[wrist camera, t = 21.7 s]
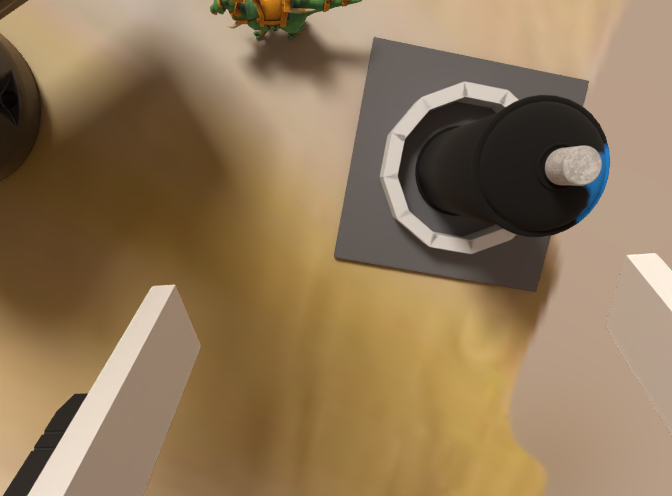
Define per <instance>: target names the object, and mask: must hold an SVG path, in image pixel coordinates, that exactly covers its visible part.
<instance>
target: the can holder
mask: <svg viewBox="0 0 672 496" xmlns="http://www.w3.org/2000/svg"><path fill="white" fill-rule="evenodd" d="M588 83H589V81H586V80H582V79H577V78H572V77H567V76H562V75H557V74H552V73H547V72H542V71H538V70H533V69H528V68H523V67H518V66H513V65H508V64H503V63H498V62H493V61H489V60H484V59H479V58H474V57H469V56H464V55H459V54H454V53H449V52H445V51H440V50H435V49H430V48H425V47H420V46H415V45H410V44H405V43H401V42H396V41H391V40H386V39H381V38H376V37H374V39H373V44H372V50H371V55H370V61H369V66H368V72H367V77H366V83H365V88H364V94H363V99H362V105H361V110H360V116H359V121H358V127H357V132H356V138H355V143H354V149H353V154H352V160H351V165H350V171H349V176H348V182H347V187H346V193H345V198H344V204H343V209H342V215H341V220H340V226H339V231H338V237H337V242H336V248H335V253H334V257H336V258H342V259H348V260H354V261H359V262H365V263H371V264H377V265H383V266H389V267H394V268H400V269H406V270H412V271H418V272H424V273H429V274H435V275H441V276H447V277H453V278H459V279H465V280H470V281H476V282H482V283H488V284H494V285H500V286H505V287H511V288H517V289H523V290H529V291H535V292H536V290H537V286H538V282H539V278H540V274H541V270H542V266H543V262H544V258H545V254H546V250H547V246H548V242H549V238H550V236H544V237H525V236H521V235H517V234H513V233H511V232H509V231H507V230H505V229H503V228H501V227H500V226H498V225H496V224H492V223H489V222H485V221H481V220H477V219H473V218H469V217H466V216H451V215H447V214H443V213H441V212H439V211H437V210H435V209H434V208H432V207H431V206H430V205H428V203H427V202H426V201H425V200H424V199H423V197H422V196H421V194H420V192H419V190H418V187H417V184H416V178H415V166H416V162H417V158H418V155H419V153H420V151H421V149H422V147H423V146H424V145H425V143H426V142H427V141H428V140H429V139H430V138H431V137H432V136H433V135H434V134H436V133H438V132H439V131H441V130H443V129H446V128H448V127H453V126H463V125H465V124H468V123H471V122H474V121H476V120H479V119H482V118H485V117H487V116H490V115H493V114H496V113H498V112H500V111H501V110H502V109H503V108H505V107H507V106H508V105H510V104H511V103H513V102H515V101H518V100H521V99H523V98H526V97H530V96H537V95H555V96H559V97H563V98H567V99H570V100H572V101H574V102H576V103H578V104H579V105H581V106H582V107H583V103H584V99H585V95H586V91H587V87H588Z"/></svg>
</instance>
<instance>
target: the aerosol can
mask: <svg viewBox="0 0 672 496" xmlns="http://www.w3.org/2000/svg"><path fill="white" fill-rule="evenodd" d="M609 167H610V157H609V147H608V144H607V140H606V136H605V134H604V132H603V130H602V128H601V126H600V124H599V123H598V122H597V120H596V119H595V118H594V117H593V115H592V114H591V113H590V112H589V111H587V110H586V109H585V108H584V107H582V106H581V105H579V104H578V103H576V102H574V101H572V100H570V99H567V98H563V97H559V96H555V95H537V96H530V97H526V98H523V99H521V100H518V101H515V102H513V103H511V104H510V105H508V106H507V107H505V108H503V109H502V110H501V111H500V112H498V113H496V114H493V115H490V116H487V117H485V118H482V119H479V120H476V121H474V122H471V123H468V124H465V125H463V126H453V127H448V128H446V129H443V130H441V131H439V132H438V133H436V134H434V135H433V136H432V137H431V138H430V139H429V140H428V141H427V142H426V143H425V145H424V146H423V147H422V149H421V151H420V153H419V155H418V158H417V162H416V166H415V178H416V184H417V187H418V190H419V192H420V194H421V196H422V197H423V199H424V200H425V201H426V202H427V203H428V205H430V206H431V207H432V208H434V209H435V210H437V211H439V212H441V213H443V214H447V215H451V216H466V217H469V218H473V219H477V220H481V221H485V222H489V223H492V224H496V225H498V226H500V227H501V228H503V229H505V230H507V231H509V232H511V233H513V234H517V235H521V236H525V237H544V236H550V235H555V234H557V233H560V232H563V231H565V230H567V229H569V228H571V227H572V226H574V225H576V224H577V223H579V222H580V221H581V220H582V219H583V218H584V217H586V216H587V215H588V214H589V213H590V212H591V210H592V209H593V208H594V206H595V205H596V204H597V203H598V201H599V199H600V197H601V195H602V193H603V191H604V189H605V185H606V183H607V179H608V175H609Z"/></svg>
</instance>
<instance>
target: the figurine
mask: <svg viewBox="0 0 672 496" xmlns="http://www.w3.org/2000/svg"><path fill="white" fill-rule="evenodd" d="M360 1H362V0H247V1H246V0H214V3H213V5H212V6H211V7H210V11H211V13H212V14H214V15H217V12H218V13H220V14H223V13H224V12H225V11H226V9H228V11H229V13H230V15H231V17H232V18H233V20H235V21H237V22H236V23H235V24H234V25H232V26H229V28H236V27H238V26H240V25H241V24H248V26H250V27H251V28H253V29H254V30H260V31H259V32H258V31H255V32H254V34H258V35H259V36H257V37H256V39H259V38H260V37H261V36H262V35H265V34H266V32H267V31H270V32H272V31H278V30H279V29H280V28H281V29H283V30H284V31H286V32H288V35H292V36H289V39H291V38H293V37H295V36H296V35H297V34H298V33H302V31H303V29H304V27H303V26H302V24H303V23H304V21H305V20H306V18H307V16H309V15H311V14H313V13H316V12H320V11H323V12H326V11H329V9H331V8H335V7H339V6H342V7H343V6H347V5H348V4H353V3H357V2H360Z"/></svg>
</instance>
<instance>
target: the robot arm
mask: <svg viewBox="0 0 672 496" xmlns="http://www.w3.org/2000/svg"><path fill="white" fill-rule="evenodd" d="M27 1H28V0H0V20H1V19H2V18H4V17H5V16H6V15H8V14H9V13H11V12H12V11H14V10H15V9H17V8H18V7H19V6H21V5H22V4H24V3H25V2H27ZM39 122H40V102H39V95H38V91H37V87H36V84H35V81H34V78H33V76H32V73H31V71H30V69H29V67H28V65H27V64H26V62H25V60H24V59H23V57H22V56H21V54H20V53H19V52H18V50H17V49H16V48H15V47H14V46H13V45H12V44H11V43H10V42H9V41H8V40H7V39H6V38H5V37H4V36H3V35H2V34H0V180H2V179H4V178H5V177H7V176H8V175H10V174H11V173H12V172H14V171H15V170H16V169H17V168H18V167H19V166H20V165H21V164H22V163H23V161H24V160H25V159H26V157H27V156H28V154H29V152H30V151H31V149H32V147H33V145H34V142H35V140H36V136H37V133H38V128H39ZM605 327H606V329H607V331H608V332H609V334H610V336H611V337H612V339H613V341H614V342H615V344H616V346H617V347H618V349H619V350H620V352H621V354H622V355H623V357H624V359H625V360H626V362H627V364H628V365H629V367H630V369H631V370H632V372H633V373H634V375H635V377H636V378H637V380H638V382H639V383H640V385H641V387H642V388H643V390H644V392H645V393H646V395H647V396H648V398H649V400H650V401H651V403H652V405H653V406H654V408H655V410H656V411H657V413H658V415H659V416H660V418H661V420H662V421H663V423H664V424H665V426H666V428H667V429H668V431H669V433H670V434H671V436H672V271H671V270H670V268H669V267H668V266H667V265H666V264H665V263H664V262H663V261H662V260H661V258H660V257H659V256H658V255H657V254H656V253H651V254H636V255H626V258H625V261H624V264H623V268H622V271H621V274H620V278H619V281H618V284H617V287H616V291H615V294H614V298H613V301H612V304H611V307H610V311H609V314H608V317H607V321H606V324H605ZM200 348H201V344H200V342H199V340H198V337H197V335H196V332H195V330H194V328H193V325H192V323H191V321H190V318H189V316H188V313H187V311H186V309H185V306H184V304H183V301H182V299H181V297H180V294H179V292H178V290H177V287H176V285H161V286H152V287H151V289H150V290H149V292H148V294H147V295H146V297H145V299H144V300H143V302H142V304H141V305H140V307H139V309H138V310H137V312H136V314H135V315H134V317H133V319H132V321H131V322H130V324H129V326H128V327H127V329H126V331H125V332H124V334H123V336H122V337H121V339H120V341H119V342H118V344H117V346H116V347H115V349H114V351H113V353H112V354H111V356H110V358H109V359H108V361H107V363H106V364H105V366H104V368H103V369H102V371H101V373H100V374H99V376H98V378H97V379H96V381H95V383H94V385H93V386H92V388H91V390H90V391H89V393H88V394H74V395H73V396H72V397H71V398H70V399H69V400H68V401H67V402H66V403H65V404H64V405H63V406H62V407H61V408H60V409H59V410H58V411H57V412H56V413H55V415H54V416H53V418H52V420H51V421H50V423H49V424H48V426H47V427H46V429H45V433H44V435H41V437H40V438H39V440H38V442H37V443H36V445H35V446H34V451H31V453H30V454H29V456H28V457H27V459H26V460H25V462H24V464H23V465H22V467H21V468H20V470H19V471H18V473H17V475H16V476H15V478H14V479H13V481H12V482H11V484H10V486H9V487H8V489H7V490H6V492H5V493H4V495H3V496H143V495H144V492H145V489H146V487H147V484H148V482H149V479H150V477H151V474H152V472H153V469H154V466H155V464H156V461H157V459H158V456H159V454H160V451H161V448H162V446H163V443H164V441H165V438H166V436H167V433H168V430H169V428H170V425H171V423H172V420H173V418H174V415H175V412H176V410H177V407H178V405H179V402H180V400H181V397H182V394H183V392H184V389H185V387H186V384H187V382H188V379H189V377H190V374H191V371H192V369H193V366H194V364H195V361H196V359H197V356H198V353H199V351H200Z"/></svg>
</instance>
